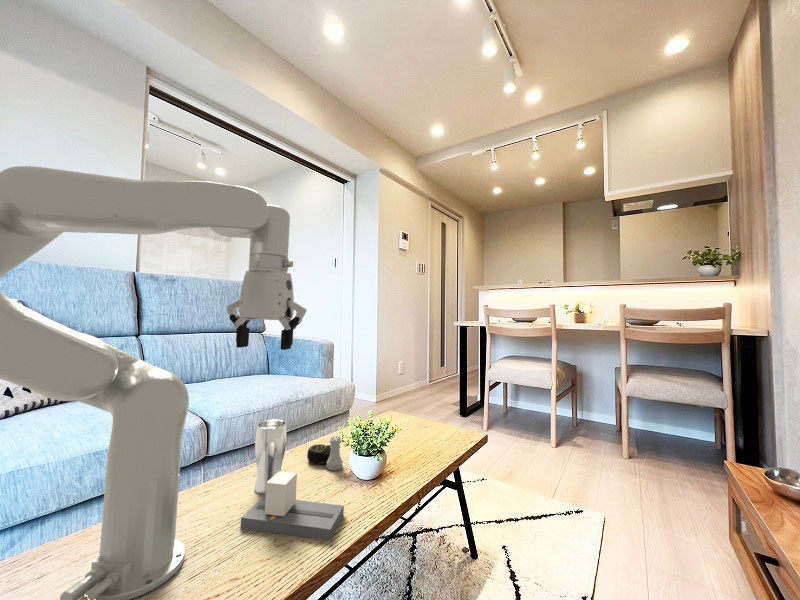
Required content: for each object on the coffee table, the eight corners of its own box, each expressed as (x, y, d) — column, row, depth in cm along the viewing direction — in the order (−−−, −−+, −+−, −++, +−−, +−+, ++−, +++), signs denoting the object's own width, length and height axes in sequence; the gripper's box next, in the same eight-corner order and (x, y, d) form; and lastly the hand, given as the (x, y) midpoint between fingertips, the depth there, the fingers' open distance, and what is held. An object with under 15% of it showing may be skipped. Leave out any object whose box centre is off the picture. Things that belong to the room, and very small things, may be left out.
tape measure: (328, 466, 92) (329, 453, 92) (303, 465, 92) (304, 452, 92) (333, 456, 99) (334, 443, 99) (310, 455, 99) (311, 442, 99)
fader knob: (283, 516, 65) (285, 484, 65) (264, 513, 65) (266, 482, 66) (295, 502, 70) (297, 472, 70) (277, 500, 70) (279, 471, 71)
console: (329, 540, 62) (330, 528, 62) (240, 528, 64) (241, 517, 64) (343, 515, 70) (343, 505, 70) (263, 505, 72) (263, 495, 72)
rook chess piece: (338, 472, 89) (339, 441, 89) (323, 470, 90) (324, 439, 90) (345, 465, 93) (346, 436, 94) (330, 463, 94) (331, 434, 95)
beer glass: (290, 484, 81) (293, 422, 82) (267, 498, 75) (271, 430, 76) (268, 478, 84) (272, 417, 85) (245, 490, 78) (249, 425, 79)
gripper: (314, 269, 72) (311, 348, 71) (241, 268, 75) (236, 344, 74) (299, 263, 65) (294, 351, 64) (218, 262, 68) (213, 347, 67)
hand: (263, 348), depth 69 cm, fingers open, 9 cm apart
